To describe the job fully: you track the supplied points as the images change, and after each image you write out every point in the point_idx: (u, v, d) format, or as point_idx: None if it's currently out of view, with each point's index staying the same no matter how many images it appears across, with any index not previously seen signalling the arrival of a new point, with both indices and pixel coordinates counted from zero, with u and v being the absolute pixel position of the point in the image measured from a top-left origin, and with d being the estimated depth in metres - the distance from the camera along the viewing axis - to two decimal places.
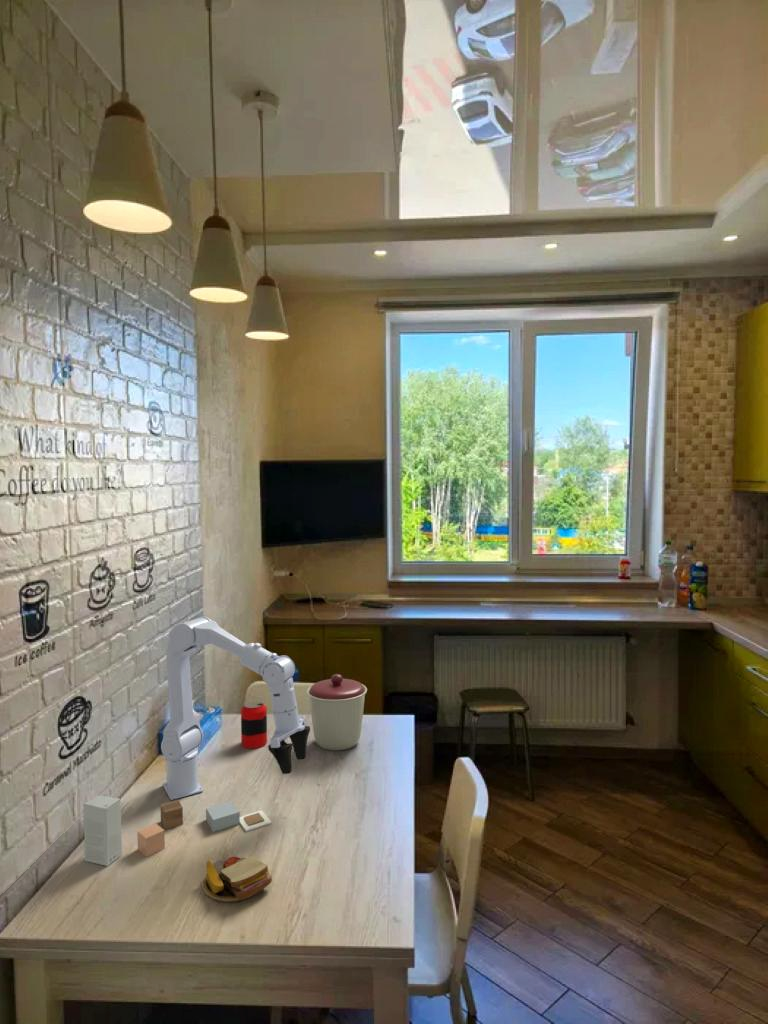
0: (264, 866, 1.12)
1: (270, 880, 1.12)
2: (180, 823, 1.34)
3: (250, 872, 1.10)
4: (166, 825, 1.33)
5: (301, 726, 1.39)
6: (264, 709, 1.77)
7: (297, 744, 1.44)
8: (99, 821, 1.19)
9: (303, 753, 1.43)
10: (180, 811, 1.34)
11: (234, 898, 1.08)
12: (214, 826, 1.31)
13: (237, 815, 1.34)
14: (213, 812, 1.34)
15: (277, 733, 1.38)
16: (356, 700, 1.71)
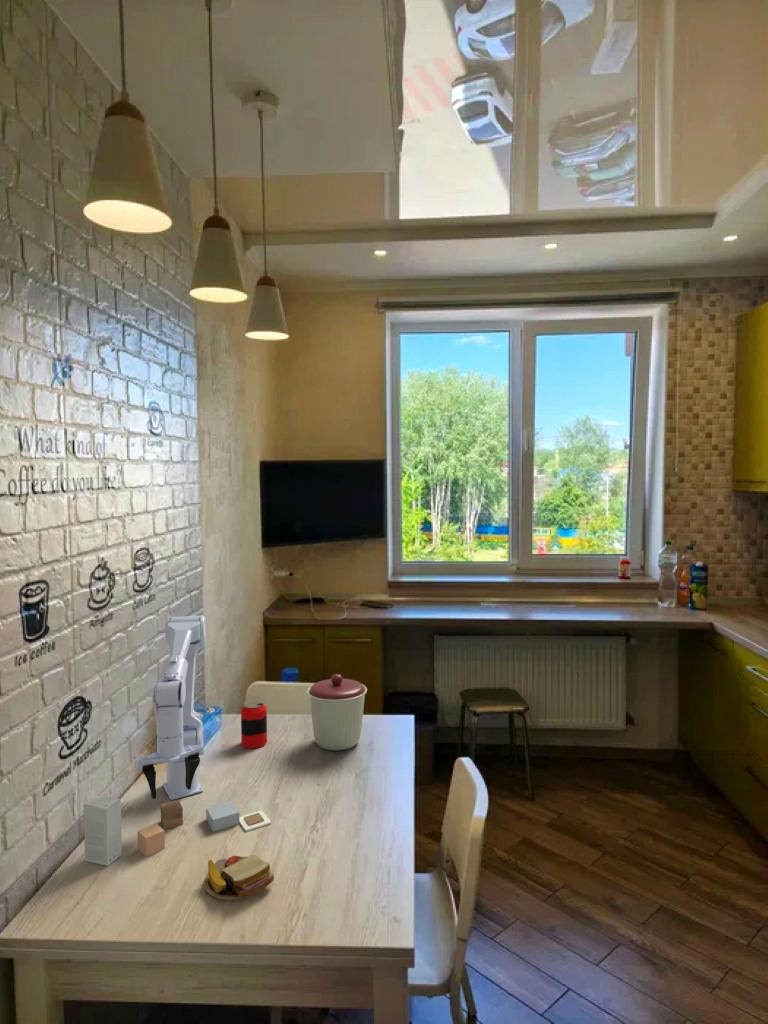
0: (266, 864, 1.12)
1: (272, 878, 1.12)
2: (180, 823, 1.34)
3: (253, 871, 1.11)
4: (166, 825, 1.33)
5: (174, 758, 1.32)
6: (264, 709, 1.77)
7: (187, 772, 1.37)
8: (99, 821, 1.19)
9: (187, 783, 1.36)
10: (180, 811, 1.34)
11: (237, 897, 1.08)
12: (213, 826, 1.31)
13: (237, 815, 1.34)
14: (213, 812, 1.34)
15: (156, 754, 1.34)
16: (356, 700, 1.71)
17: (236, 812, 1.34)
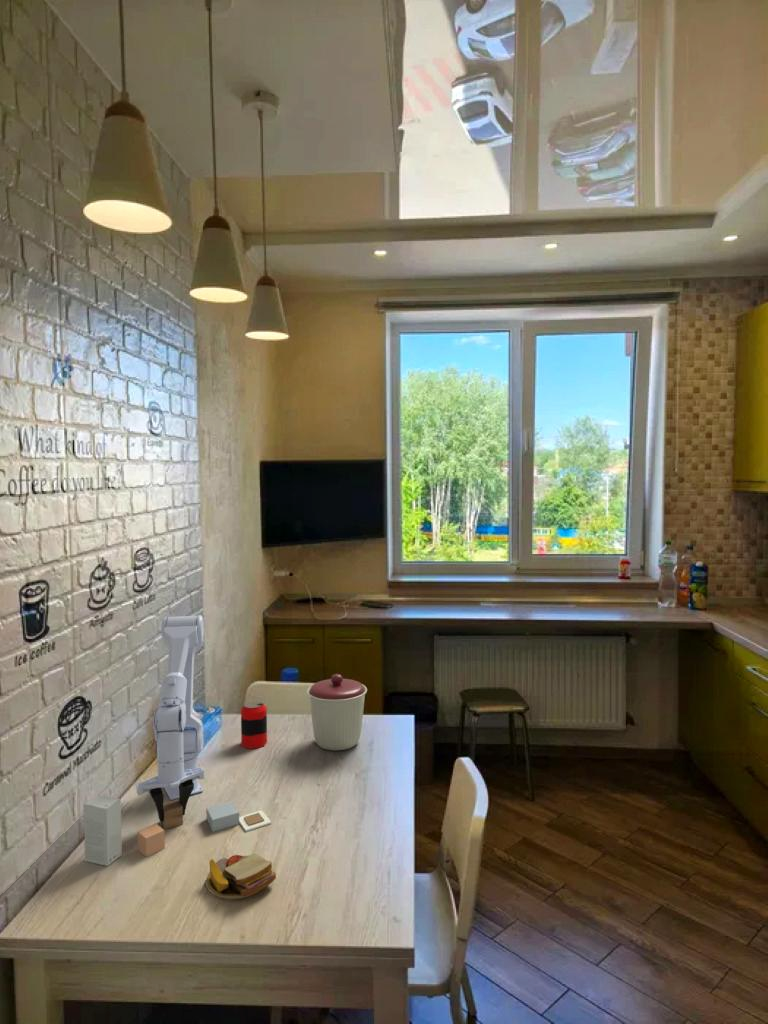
0: (268, 863, 1.13)
1: (274, 877, 1.13)
2: (180, 822, 1.34)
3: (255, 869, 1.11)
4: (166, 824, 1.33)
5: (175, 783, 1.32)
6: (264, 709, 1.77)
7: (180, 797, 1.36)
8: (99, 821, 1.19)
9: None
10: (180, 810, 1.34)
11: (239, 895, 1.09)
12: (213, 826, 1.31)
13: (237, 815, 1.34)
14: (213, 812, 1.34)
15: (156, 779, 1.34)
16: (356, 700, 1.71)
17: (236, 812, 1.34)
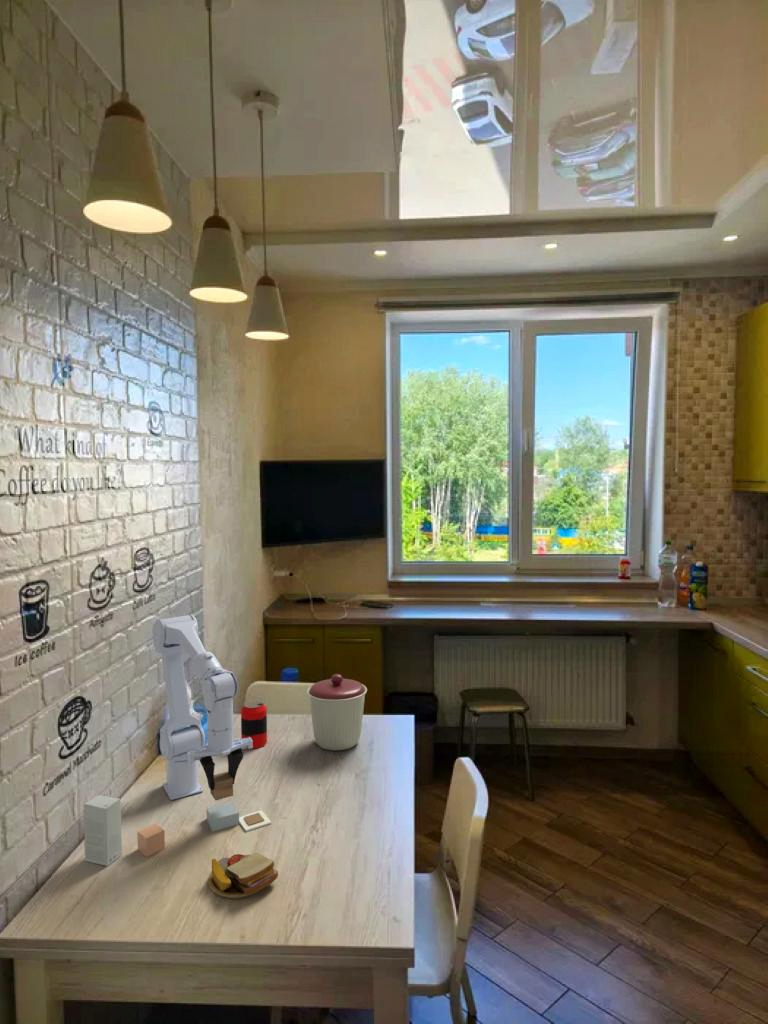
0: (270, 861, 1.13)
1: (277, 875, 1.13)
2: (230, 794, 1.34)
3: (257, 868, 1.11)
4: (217, 796, 1.32)
5: (225, 751, 1.32)
6: (264, 709, 1.77)
7: (229, 766, 1.36)
8: (99, 821, 1.19)
9: None
10: (230, 782, 1.34)
11: (242, 894, 1.09)
12: (213, 826, 1.31)
13: (236, 815, 1.34)
14: (212, 812, 1.34)
15: (206, 747, 1.35)
16: (356, 700, 1.71)
17: (236, 812, 1.34)
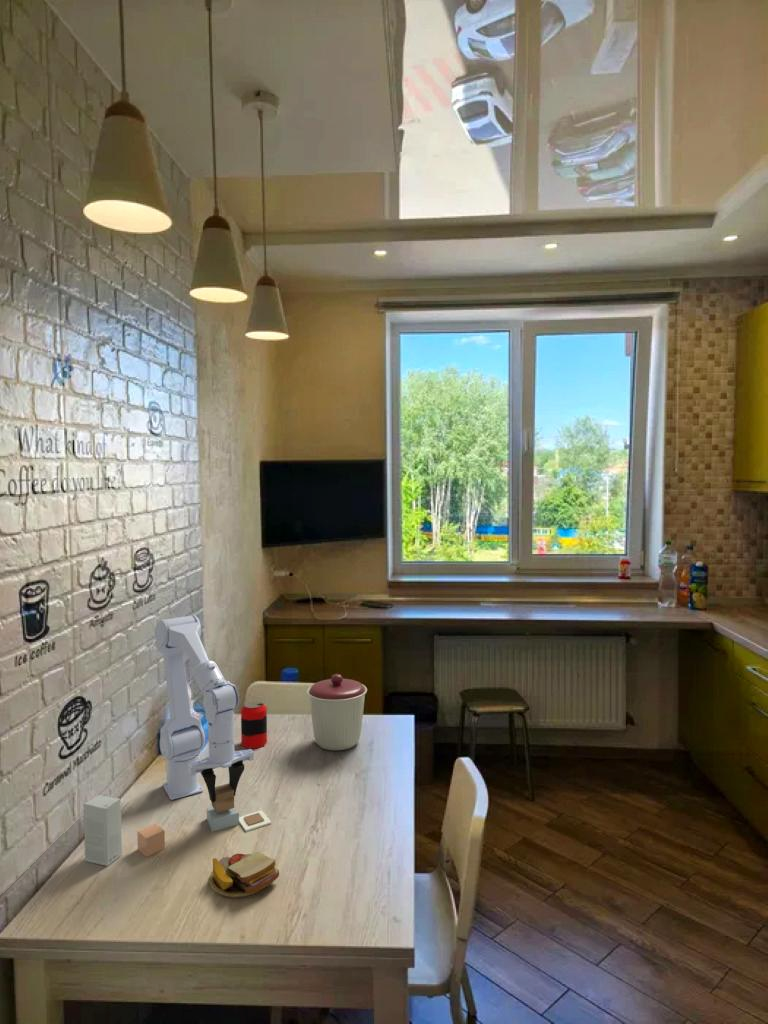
0: (272, 860, 1.14)
1: (278, 874, 1.13)
2: (231, 806, 1.34)
3: (259, 867, 1.12)
4: (218, 808, 1.33)
5: (227, 763, 1.32)
6: (264, 709, 1.77)
7: (231, 778, 1.37)
8: (99, 821, 1.19)
9: None
10: (231, 794, 1.34)
11: (244, 893, 1.09)
12: (213, 826, 1.31)
13: (236, 816, 1.34)
14: (212, 811, 1.35)
15: (207, 759, 1.35)
16: (356, 700, 1.71)
17: (236, 812, 1.34)
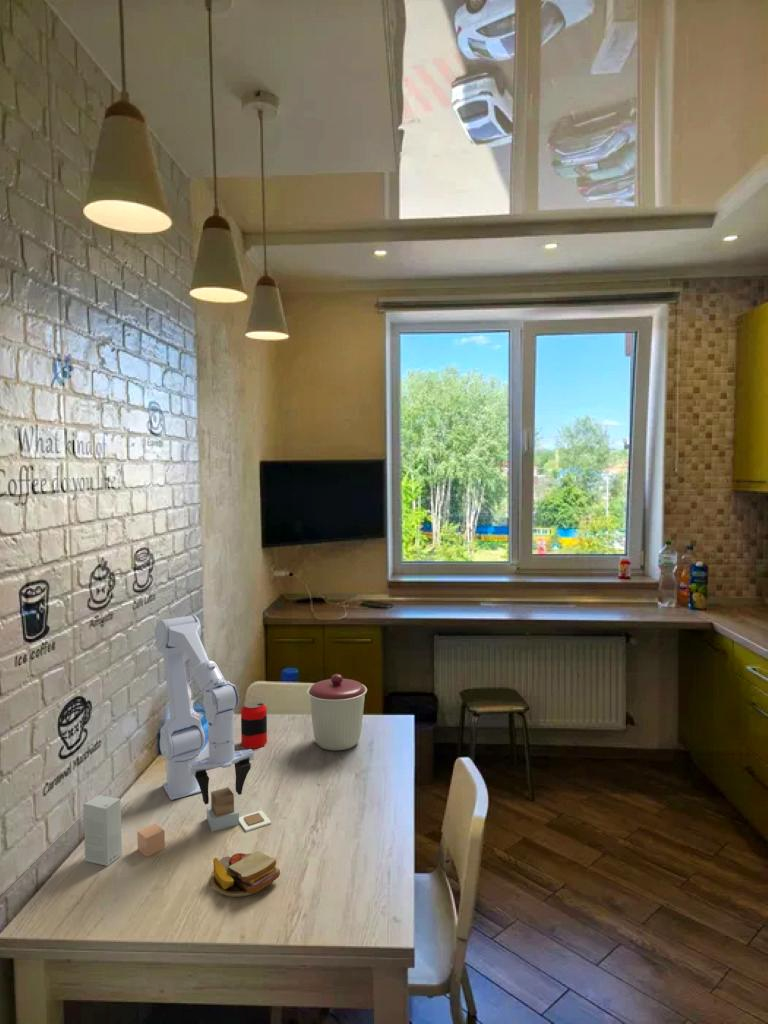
0: (273, 860, 1.14)
1: (279, 873, 1.14)
2: (231, 810, 1.34)
3: (260, 866, 1.12)
4: (218, 812, 1.33)
5: (227, 763, 1.32)
6: (264, 709, 1.77)
7: (237, 777, 1.37)
8: (99, 821, 1.19)
9: (238, 788, 1.36)
10: (231, 798, 1.34)
11: (245, 892, 1.10)
12: (212, 826, 1.31)
13: (236, 816, 1.34)
14: (212, 812, 1.35)
15: (207, 759, 1.35)
16: (356, 700, 1.71)
17: (235, 813, 1.34)
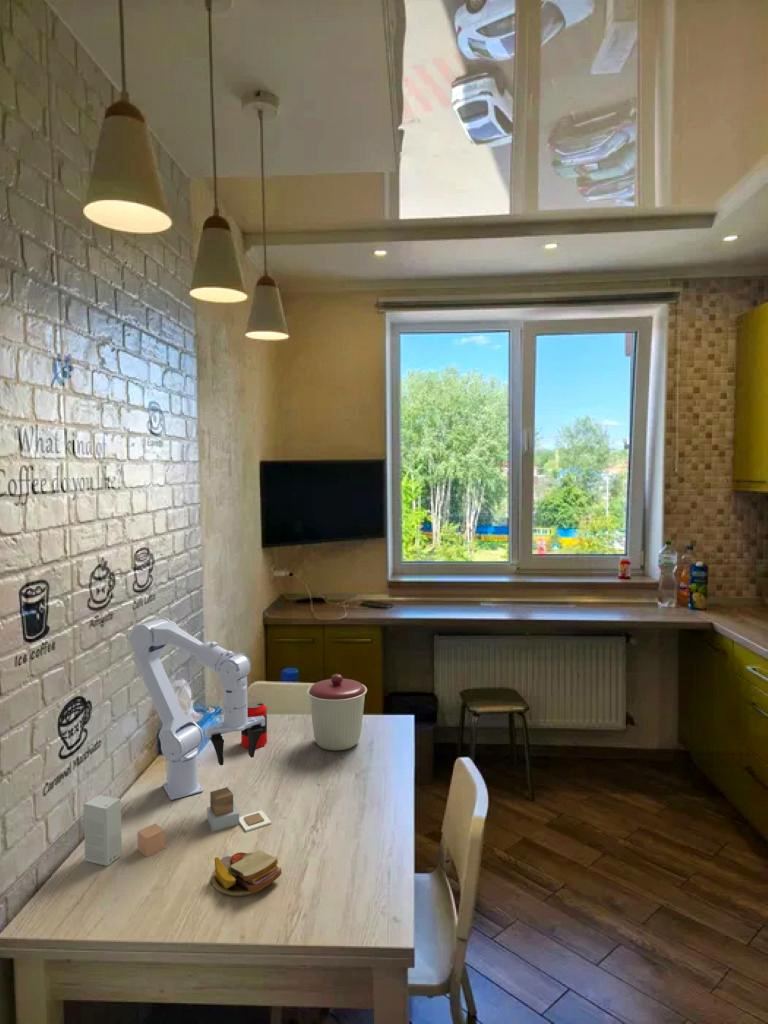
0: (274, 859, 1.14)
1: (280, 872, 1.14)
2: (231, 810, 1.35)
3: (261, 865, 1.12)
4: (217, 812, 1.33)
5: (240, 727, 1.42)
6: (264, 709, 1.77)
7: (250, 741, 1.47)
8: (99, 821, 1.19)
9: (251, 752, 1.46)
10: (231, 798, 1.34)
11: (247, 891, 1.10)
12: (213, 826, 1.31)
13: (237, 816, 1.34)
14: None
15: (222, 724, 1.44)
16: (356, 700, 1.71)
17: (236, 813, 1.34)
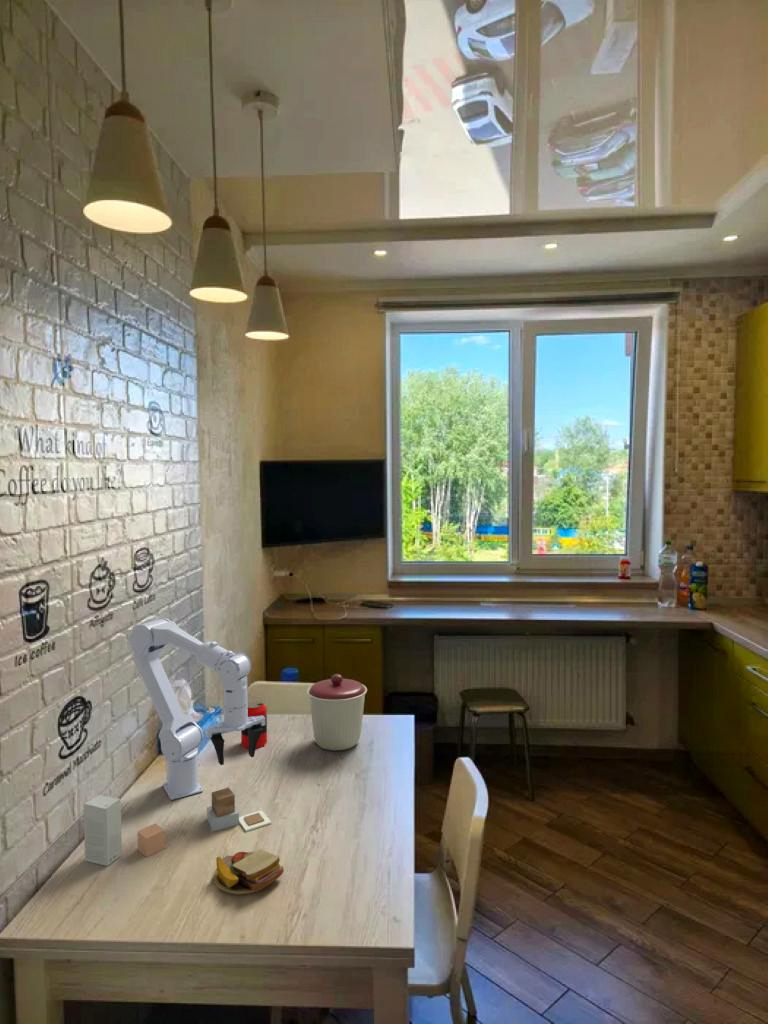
0: (276, 857, 1.15)
1: (282, 870, 1.15)
2: (232, 810, 1.34)
3: (264, 864, 1.13)
4: (219, 812, 1.33)
5: (241, 727, 1.42)
6: (264, 709, 1.77)
7: (250, 741, 1.47)
8: (99, 821, 1.19)
9: (251, 751, 1.46)
10: (232, 798, 1.34)
11: (249, 890, 1.10)
12: (212, 826, 1.31)
13: (236, 816, 1.34)
14: None
15: (222, 724, 1.45)
16: (356, 700, 1.71)
17: (236, 813, 1.34)
